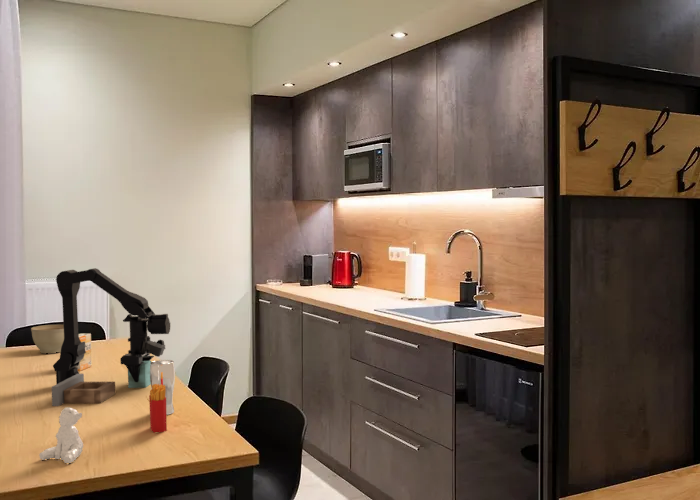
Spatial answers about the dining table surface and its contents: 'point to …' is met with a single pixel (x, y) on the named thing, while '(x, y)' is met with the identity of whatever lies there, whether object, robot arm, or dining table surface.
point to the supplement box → (86, 361)
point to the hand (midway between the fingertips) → (140, 379)
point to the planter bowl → (48, 338)
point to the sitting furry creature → (66, 438)
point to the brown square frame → (89, 392)
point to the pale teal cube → (141, 377)
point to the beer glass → (164, 380)
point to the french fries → (158, 408)
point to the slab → (64, 388)
